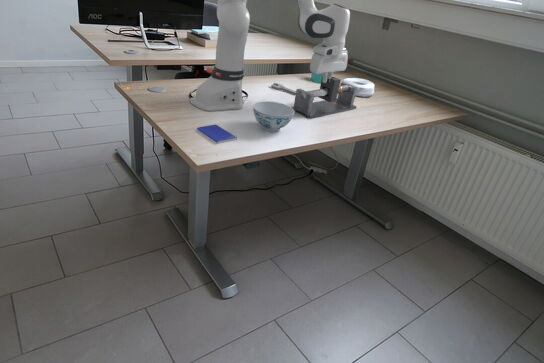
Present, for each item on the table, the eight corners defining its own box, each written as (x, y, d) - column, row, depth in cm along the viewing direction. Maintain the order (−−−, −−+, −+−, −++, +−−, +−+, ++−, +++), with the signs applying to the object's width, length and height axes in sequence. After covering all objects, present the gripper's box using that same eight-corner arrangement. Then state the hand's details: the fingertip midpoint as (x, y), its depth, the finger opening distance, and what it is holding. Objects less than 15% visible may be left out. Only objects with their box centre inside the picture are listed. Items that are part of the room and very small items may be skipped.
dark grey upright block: (330, 102, 163) (335, 80, 158) (318, 97, 167) (322, 75, 162) (336, 101, 165) (340, 79, 161) (323, 96, 169) (328, 75, 165)
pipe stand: (310, 119, 154) (314, 96, 149) (289, 109, 161) (293, 87, 156) (355, 108, 175) (361, 88, 170) (335, 100, 182) (340, 80, 177)
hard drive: (237, 136, 127) (216, 123, 134) (217, 141, 122) (196, 127, 129) (237, 141, 127) (216, 128, 135) (216, 145, 122) (196, 131, 130)
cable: (372, 91, 207) (375, 80, 204) (373, 100, 191) (376, 88, 188) (340, 85, 208) (342, 74, 205) (339, 94, 193) (342, 82, 190)
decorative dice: (328, 81, 212) (330, 67, 208) (323, 84, 205) (326, 69, 201) (314, 78, 214) (317, 64, 210) (310, 81, 208) (312, 66, 204)
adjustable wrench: (315, 101, 178) (315, 97, 177) (306, 103, 174) (307, 99, 173) (276, 85, 192) (277, 82, 191) (268, 87, 188) (268, 83, 187)
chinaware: (243, 122, 141) (245, 103, 137) (275, 118, 149) (278, 100, 145) (265, 138, 131) (268, 117, 127) (299, 133, 139) (302, 113, 135)
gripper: (342, 46, 162) (335, 78, 168) (310, 47, 149) (304, 82, 155) (354, 49, 158) (346, 82, 165) (322, 51, 145) (316, 86, 152)
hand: (325, 82), depth 160 cm, fingers closed
